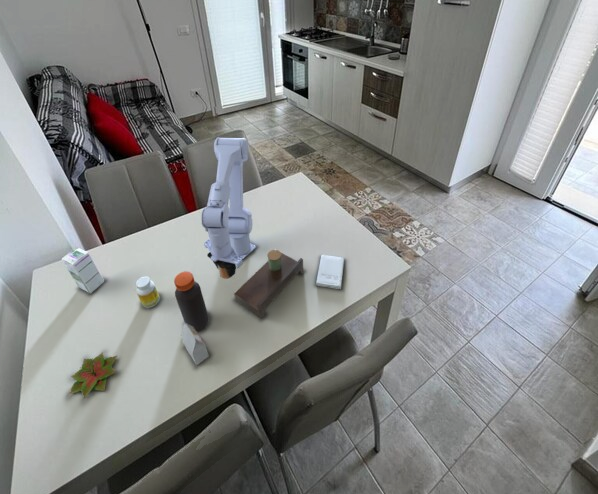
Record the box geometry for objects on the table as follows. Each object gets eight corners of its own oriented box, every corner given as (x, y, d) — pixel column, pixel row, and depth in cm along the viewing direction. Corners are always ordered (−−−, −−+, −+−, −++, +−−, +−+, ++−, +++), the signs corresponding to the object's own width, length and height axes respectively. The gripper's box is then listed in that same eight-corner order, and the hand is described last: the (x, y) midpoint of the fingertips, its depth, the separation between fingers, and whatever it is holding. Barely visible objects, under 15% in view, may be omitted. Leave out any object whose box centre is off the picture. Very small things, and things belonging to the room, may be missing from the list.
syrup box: (105, 281, 113) (89, 251, 105) (89, 294, 109) (72, 264, 100) (93, 275, 115) (77, 246, 107) (78, 288, 111) (60, 258, 103)
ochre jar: (216, 274, 105) (213, 262, 102) (227, 265, 108) (224, 253, 105) (226, 281, 103) (224, 269, 100) (237, 271, 106) (235, 260, 103)
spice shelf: (235, 300, 106) (233, 287, 102) (278, 257, 121) (277, 245, 117) (261, 318, 100) (259, 306, 97) (303, 271, 115) (303, 259, 112)
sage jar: (265, 267, 112) (264, 255, 109) (274, 258, 116) (273, 247, 112) (276, 273, 110) (275, 262, 107) (284, 264, 113) (283, 253, 110)
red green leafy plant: (109, 398, 83) (102, 389, 80) (59, 403, 82) (51, 394, 80) (126, 350, 93) (121, 341, 90) (82, 354, 92) (75, 345, 90)
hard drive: (343, 260, 119) (340, 289, 109) (321, 257, 120) (316, 285, 110) (344, 257, 118) (341, 286, 108) (321, 254, 119) (316, 282, 109)
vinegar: (188, 336, 96) (172, 293, 85) (183, 317, 101) (168, 274, 90) (211, 326, 99) (199, 282, 88) (205, 308, 104) (193, 265, 93)
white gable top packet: (196, 365, 89) (189, 345, 84) (185, 347, 94) (177, 326, 88) (208, 356, 91) (202, 335, 86) (197, 338, 96) (190, 318, 90)
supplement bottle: (141, 297, 107) (132, 278, 102) (158, 291, 109) (151, 272, 104) (142, 311, 103) (133, 291, 98) (160, 304, 105) (153, 284, 100)
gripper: (193, 238, 98) (201, 268, 106) (227, 259, 91) (233, 291, 99) (211, 224, 103) (218, 255, 110) (245, 244, 96) (249, 275, 103)
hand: (226, 271), depth 105 cm, fingers closed on ochre jar, 4 cm apart
